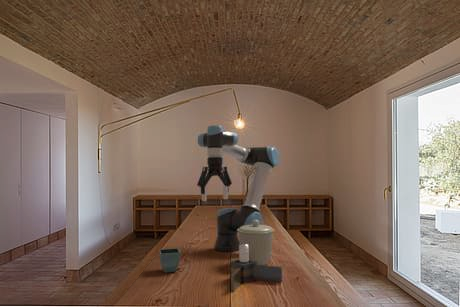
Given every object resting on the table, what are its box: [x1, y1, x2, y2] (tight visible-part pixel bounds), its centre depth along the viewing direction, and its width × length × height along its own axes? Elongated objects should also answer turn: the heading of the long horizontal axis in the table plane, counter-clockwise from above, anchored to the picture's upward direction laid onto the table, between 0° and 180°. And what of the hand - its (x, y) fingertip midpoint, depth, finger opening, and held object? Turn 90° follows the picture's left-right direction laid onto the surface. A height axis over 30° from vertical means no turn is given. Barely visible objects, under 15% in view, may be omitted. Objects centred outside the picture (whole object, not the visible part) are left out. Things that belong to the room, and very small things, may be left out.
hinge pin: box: [238, 244, 249, 264], centre depth 147 cm, size 4×4×14 cm
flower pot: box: [158, 247, 181, 273], centre depth 158 cm, size 9×9×9 cm
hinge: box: [230, 259, 283, 292], centre depth 141 cm, size 22×18×7 cm
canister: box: [237, 220, 275, 266], centre depth 169 cm, size 18×18×21 cm
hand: (215, 200), depth 171 cm, fingers open, 13 cm apart
